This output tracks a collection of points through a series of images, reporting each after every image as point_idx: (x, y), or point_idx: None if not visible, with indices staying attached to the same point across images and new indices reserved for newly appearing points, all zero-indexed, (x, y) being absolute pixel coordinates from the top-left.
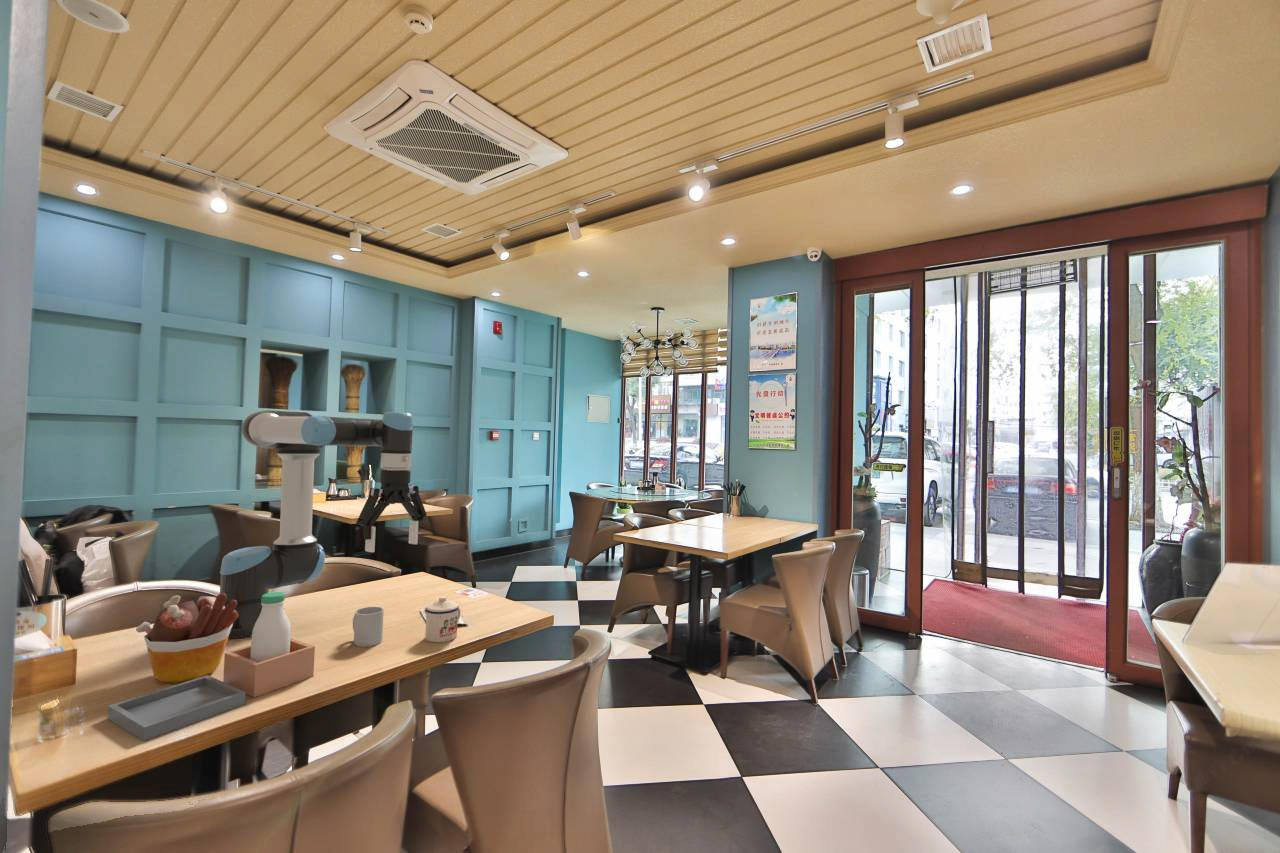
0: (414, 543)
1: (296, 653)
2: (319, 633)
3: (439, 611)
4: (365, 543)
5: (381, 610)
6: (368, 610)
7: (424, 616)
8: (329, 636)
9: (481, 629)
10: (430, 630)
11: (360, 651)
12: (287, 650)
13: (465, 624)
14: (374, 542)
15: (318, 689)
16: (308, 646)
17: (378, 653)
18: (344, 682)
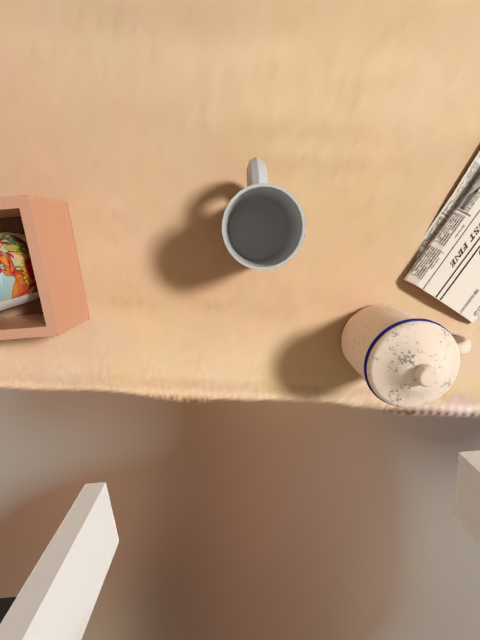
0: (459, 510)
1: (17, 338)
2: (217, 44)
3: (376, 394)
4: (57, 532)
5: (300, 234)
6: (281, 192)
7: (469, 172)
8: (222, 97)
9: (465, 366)
10: (349, 353)
11: (215, 269)
12: (5, 307)
13: (471, 316)
14: (87, 613)
15: (73, 380)
16: (48, 324)
17: (233, 311)
18: (117, 388)
